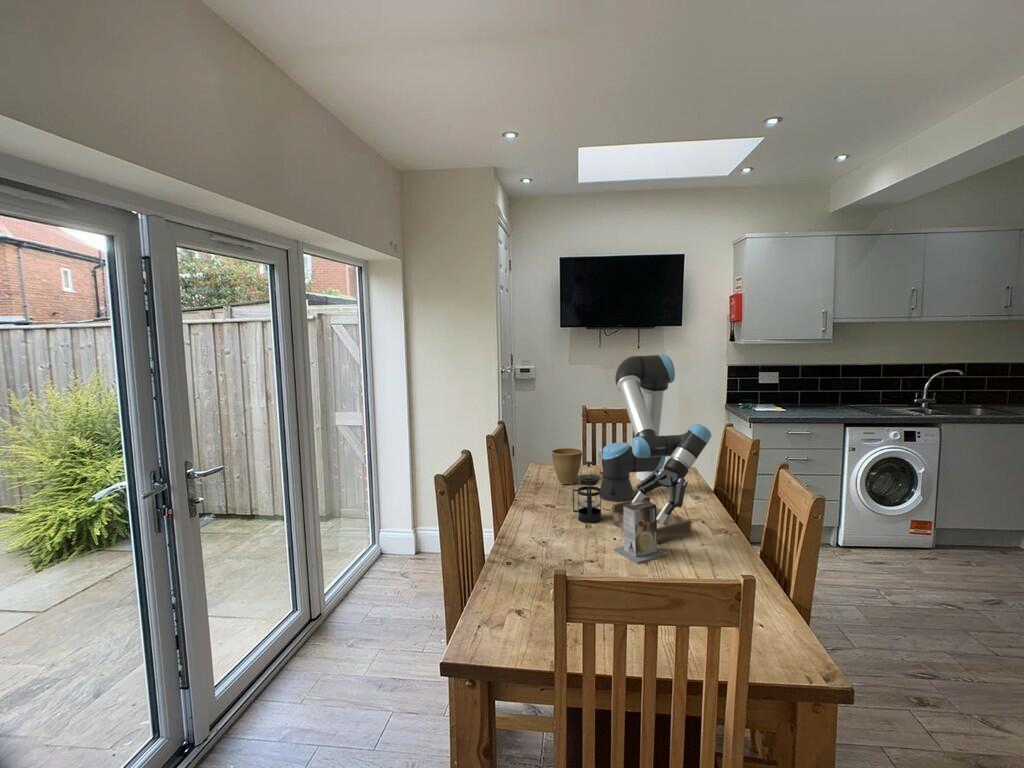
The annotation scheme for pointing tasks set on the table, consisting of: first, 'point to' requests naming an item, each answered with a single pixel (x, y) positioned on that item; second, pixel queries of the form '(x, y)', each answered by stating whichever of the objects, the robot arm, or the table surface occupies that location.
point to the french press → (588, 498)
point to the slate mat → (640, 558)
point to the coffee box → (640, 528)
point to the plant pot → (567, 464)
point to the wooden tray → (673, 523)
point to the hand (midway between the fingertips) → (644, 515)
